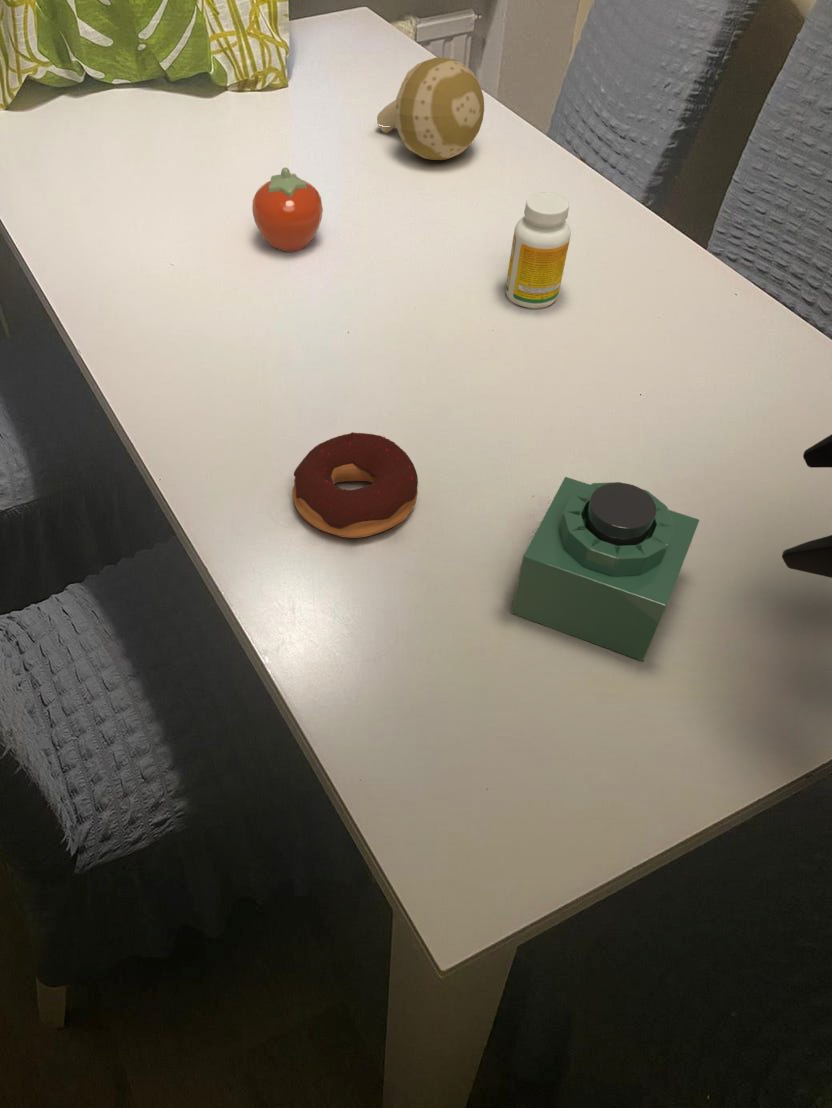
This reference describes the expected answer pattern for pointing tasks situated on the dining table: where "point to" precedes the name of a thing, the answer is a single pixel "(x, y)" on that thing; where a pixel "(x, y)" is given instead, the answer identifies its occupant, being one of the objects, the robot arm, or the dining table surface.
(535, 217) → the supplement bottle
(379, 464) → the donut
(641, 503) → the dark round knob
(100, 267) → the dining table surface
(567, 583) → the button base
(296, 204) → the tomato
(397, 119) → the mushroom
